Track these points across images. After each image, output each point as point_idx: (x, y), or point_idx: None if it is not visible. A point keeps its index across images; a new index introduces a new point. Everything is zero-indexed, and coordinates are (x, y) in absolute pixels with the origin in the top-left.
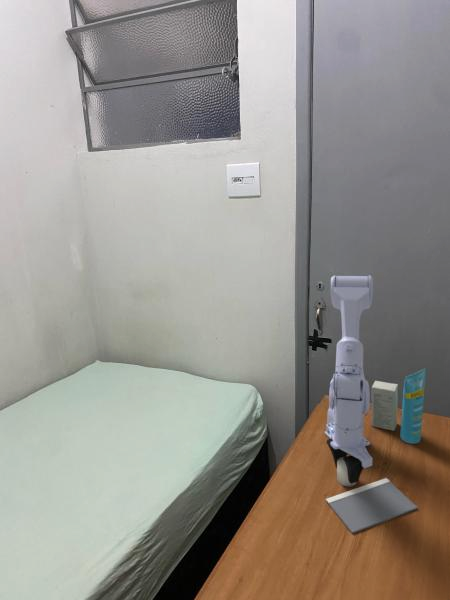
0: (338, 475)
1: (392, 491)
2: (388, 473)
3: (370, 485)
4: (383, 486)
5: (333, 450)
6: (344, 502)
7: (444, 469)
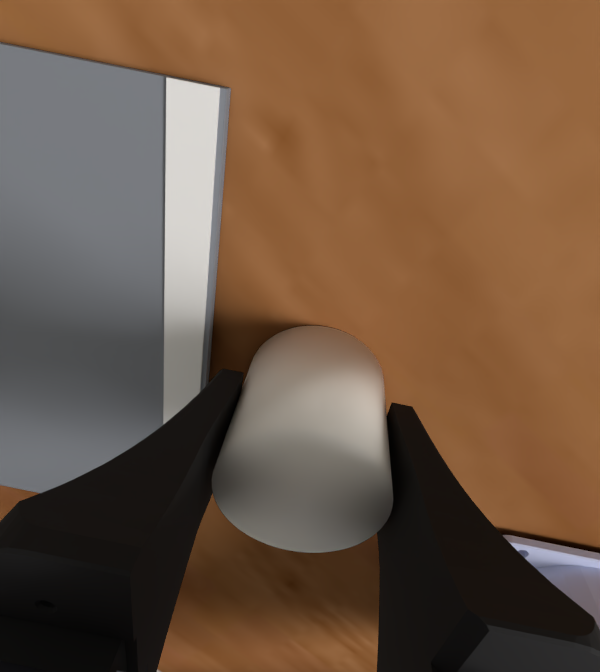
0: (330, 361)
1: None
2: (226, 548)
3: None
4: None
5: (439, 562)
6: (124, 204)
7: None
